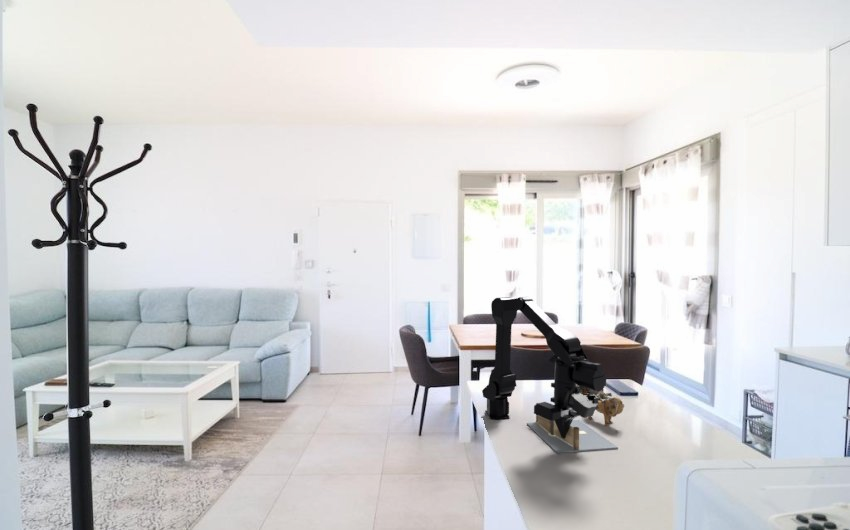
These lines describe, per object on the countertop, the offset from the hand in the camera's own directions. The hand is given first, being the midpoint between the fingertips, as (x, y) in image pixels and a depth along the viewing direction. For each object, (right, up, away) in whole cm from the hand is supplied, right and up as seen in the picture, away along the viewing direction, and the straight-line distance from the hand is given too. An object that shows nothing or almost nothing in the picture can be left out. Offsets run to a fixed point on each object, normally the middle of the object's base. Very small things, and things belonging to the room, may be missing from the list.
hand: (563, 437), depth 104 cm
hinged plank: (+2, -2, +2) cm, 3 cm away
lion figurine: (+20, -3, +19) cm, 27 cm away
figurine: (+25, -4, +43) cm, 50 cm away
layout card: (+4, -3, +8) cm, 9 cm away
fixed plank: (-1, -3, +12) cm, 12 cm away
